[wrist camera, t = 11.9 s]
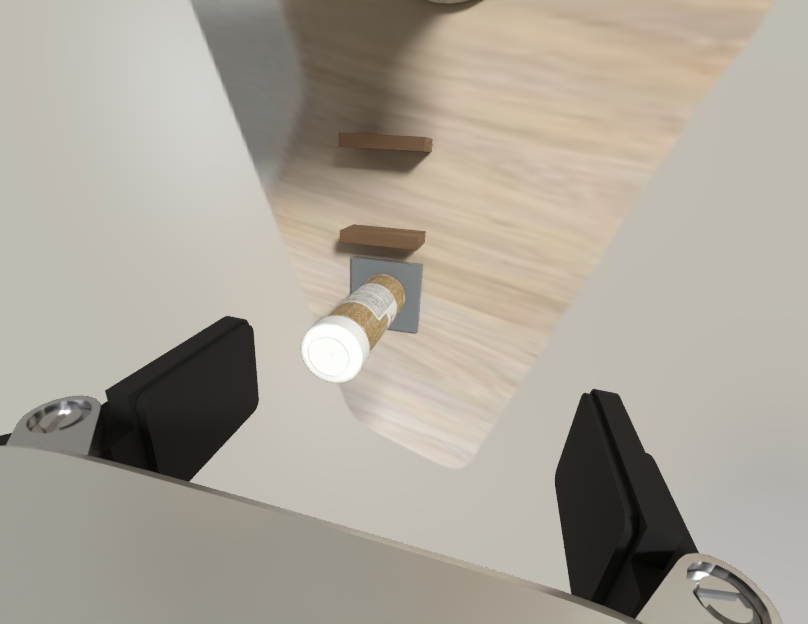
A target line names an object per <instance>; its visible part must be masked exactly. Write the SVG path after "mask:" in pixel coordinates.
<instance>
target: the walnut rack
mask: <svg viewBox="0 0 808 624" xmlns="http://www.w3.org/2000/svg"><path fill="white" fill-rule="evenodd" d="M339 146H340V147H353V148H370V149H387V150H405V151H423V152H431V151H432V139H430V138H426V137H413V136H392V135H372V134H352V133H339ZM340 242H346V243H355V244H364V245H374V246H383V247H392V248H402V249H411V250H418V249H419V248H420V247H421V246H422V245H423V244H424V242H425V231H415V230H405V229H394V228H384V227H374V226H364V225H352V226H349V227H347V228H345V229H342V230H340Z"/></svg>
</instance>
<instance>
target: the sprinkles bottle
mask: <svg viewBox="0 0 808 624" xmlns="http://www.w3.org/2000/svg"><path fill="white" fill-rule="evenodd" d="M404 303H405V292H404V289H403V287H402V285H401V283H400V282H399V281H398V280H397V279H395V278H394V277H392V276H390V275H387V274H376V275H373V276H371V277H370V278H368V279H367V281H366V282H365V283H364V285H362V286H361V287H359V288H358V289H357V290H356V291H354V292H353V293H352V294H351V295H350V296H349V297H347V298H346V299H345V300H344V301H343V302H342V303H340V304H339V305H338V306H337V307H336V308H335V309H334V311H333V312H332V313H330V314H329V315H328V316H326V317H324V318H322V319H320V320H319V321H317V322H316V323H315V324H314V325H313V326H312V327H311V328H310V329H309V330H308V331H307V332H306V333H305V335H304V337H303V339H302V343H301V354H302V358H303V361H304V363H305V365H306V366H307V368H308V369H309V370H310V371H311V372H312V373H313V374H314V375H316V376H317V377H318V378H320V379H322V380H324V381H327V382H331V383H342V382H346V381H349V380H351V379H352V378H354V377H355V376H356V375H357V374H358V373H359V371H360V370H361V369H362V367H363V366H364V364H365V363H366V361H367V359H368V356H369V353H370V351H371V350H372V348H373V347H374V346H375V344H376V343H377V342H378V341H379V340H380V338H381V337H382V336H383V334H384V333H385V331H386V330H387V329H388V327H389V326H390V324H391V323H392V322H393V320H394V319H395V317H396V315H397V314H398V313H399V312H400V311H401V310H402V308H403V306H404Z"/></svg>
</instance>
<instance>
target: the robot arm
mask: <svg viewBox="0 0 808 624" xmlns="http://www.w3.org/2000/svg"><path fill="white" fill-rule="evenodd" d="M427 1H431V2H434V3H446V4H454V3H459V2H464V1H469V0H427ZM105 392H106V396H107V399H108V401H107V402H105V403H104V404H102V405H101V404H100V402H99V401H98V400H97V399H95V398H92V397H89V396H72V397H65V398H61V399H56V400H53V401H51V402H48V403H45V404H42V405H40V406H39V407H37V408H35V409H33V410H31V411H30V412H29V413H27V414H26V415H24V416H23V417H22V418H21V419H20V421H19V422H18V423H17V425H16V427H15V429H14V431H13V432H12V433H10V434H6V435H2V436H0V624H783V623H782V620H781V618H780V615H779V613H778V611H777V609H776V608H775V606H774V605H773V603H772V602H771V600H770V599H769V598H768V596H767V595H766V594H765V593H764V592H763V591H762V590H761V589H760V588H759V587H758V586H757V585H756V584H755V583H754V582H753V581H752V580H750V579H749V578H748V577H747V576H746V575H744V574H743V573H742V572H741V571H739V570H737V569H736V568H734V567H733V566H731V565H729V564H727V563H726V562H724V561H722V560H719V559H717V558H714V557H712V556H709V555H704V554H699V552H698V550H697V548H696V546H695V544H694V542H693V540H692V538H691V536H690V534H689V531H688V530H687V527H686V525H685V523H684V521H683V519H682V517H681V514H680V512H679V511H678V508H677V506H676V504H675V502H674V500H673V498H672V496H671V494H670V491H669V489H668V487H667V485H666V483H665V481H664V479H663V477H662V475H661V473H660V470H659V468H658V466H657V464H656V462H655V460H654V459H653V457H652V456H651V455H649V454H648V453H645V451H644V448H643V446H642V444H641V442H640V440H639V437H638V435H637V433H636V431H635V429H634V427H633V425H632V422H631V420H630V418H629V416H628V413H627V412H626V409H625V407H624V405H623V403H622V400H621V398H620V396H619V395H618V394H616V393H612V392H607V391H602V390H596V389H593V390H592V391H591V392H590V394H588V393H583V395H582V396H581V399H580V402H579V405H578V408H577V411H576V414H575V417H574V420H573V422H572V426H571V428H570V431H569V434H568V437H567V440H566V443H565V446H564V449H563V452H562V455H561V458H560V461H559V463H558V467H557V469H556V474H555V487H556V495H557V501H558V507H559V514H560V521H561V527H562V535H563V540H564V548H565V555H566V561H567V567H568V574H569V581H570V588H571V594H569V593H566V592H563V591H560V590H557V589H554V588H550V587H547V586H544V585H541V584H538V583H534V582H531V581H528V580H525V579H521V578H518V577H514V576H512V575H509V574H505V573H502V572H498V571H496V570H493V569H489V568H486V567H483V566H479V565H476V564H473V563H469V562H466V561H462V560H459V559H455V558H452V557H448V556H445V555H442V554H438V553H435V552H432V551H428V550H424V549H421V548H418V547H414V546H411V545H408V544H404V543H401V542H397V541H394V540H390V539H387V538H384V537H380V536H377V535H374V534H370V533H366V532H363V531H360V530H356V529H353V528H349V527H346V526H342V525H339V524H335V523H332V522H328V521H325V520H322V519H318V518H315V517H311V516H308V515H304V514H301V513H297V512H293V511H290V510H286V509H283V508H280V507H276V506H273V505H269V504H266V503H262V502H259V501H254V500H252V499H248V498H244V497H241V496H237V495H234V494H230V493H227V492H223V491H219V490H216V489H212V488H209V487H205V486H202V485H198V484H194V483H191V482H189V481H190V480H191V479H192V478H193V477H194V476H195V475H196V474H197V472H198V471H199V470H200V469H201V468H202V467H203V466H204V465H205V464H206V463H207V462H208V461H209V460H210V459H211V458H212V456H213V455H214V454H215V453H216V452H217V451H218V450H219V449H220V448H221V447H222V446H223V445H224V444H225V442H226V441H227V440H228V439H229V438H230V437H231V436H232V435H233V434H234V433H235V432H236V431H237V430H238V429H239V428H240V426H241V425H242V424H243V423H244V422H245V421H246V420H247V419H248V418H249V417H250V416H251V414H253V412H254V411H255V410H256V408H257V405H258V401H259V397H258V384H257V371H256V358H255V345H254V332H253V328H252V326H250V325H249V323H248V322H247V320H245V319H240V318H235V317H230V316H226V317H224V318H222V319H220V320H219V321H217V322H215V323H214V324H212V325H211V326H209V327H208V328H206V329H204V330H202V331H201V332H199V333H198V334H196V335H194V336H193V337H191V338H189V339H188V340H187V341H185V342H183V343H182V344H180V345H178V346H177V347H175V348H173V349H172V350H170V351H168V352H167V353H165V354H164V355H162V356H160V357H159V358H157V359H156V360H154V361H152V362H151V363H149V364H148V365H146V366H144V367H143V368H141V369H139V370H138V371H136V372H135V373H133V374H131V375H130V376H128V377H126V378H125V379H123V380H122V381H120V382H119V383H117V384H115V385H114V386H112V387H111V388H109V389H107V390H106V391H105Z"/></svg>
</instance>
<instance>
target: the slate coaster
mask: <svg viewBox="0 0 808 624" xmlns="http://www.w3.org/2000/svg"><path fill="white" fill-rule="evenodd" d="M422 272H423V264H417V263H408V262H400V261H391V260H382V259H373V258H365V257H356V256H353V257H352V258H351V294H352V293H353V292H354V291H356V290H357V289H358V288H359V287H361V286H362V285H364V283H365V282H366V281H367V279H368V278H370V277H371V276H373V275H376V274H387V275H390V276H392V277H394V278H395V279H397V280H398V281H399V282H400V283H401V285H402V287H403V289H404V292H405V303H404V306H403V308H402V310H401V311H400V312H399V313H398V314H397V315H396V317H395V319H394V320H393V322H392V323H391V324H390V326H389V327H388V329H392V330H399V331H405V332H412V333H417V332H418V326H419V312H420V299H421V286H422Z"/></svg>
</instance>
